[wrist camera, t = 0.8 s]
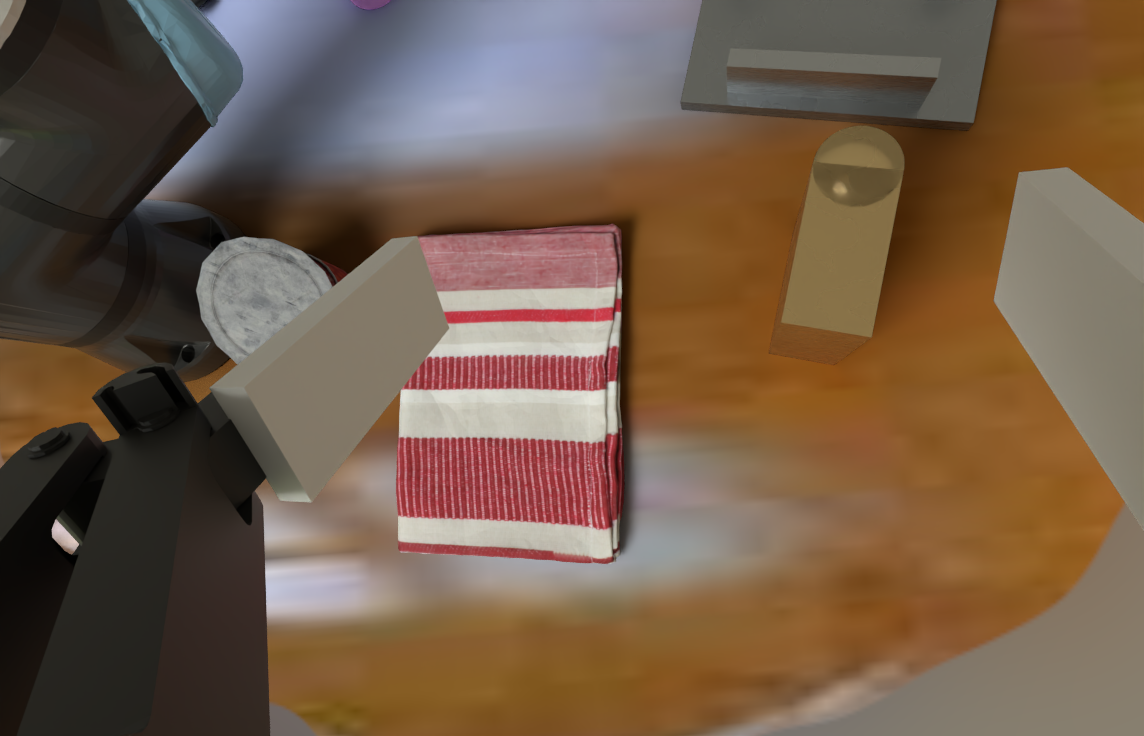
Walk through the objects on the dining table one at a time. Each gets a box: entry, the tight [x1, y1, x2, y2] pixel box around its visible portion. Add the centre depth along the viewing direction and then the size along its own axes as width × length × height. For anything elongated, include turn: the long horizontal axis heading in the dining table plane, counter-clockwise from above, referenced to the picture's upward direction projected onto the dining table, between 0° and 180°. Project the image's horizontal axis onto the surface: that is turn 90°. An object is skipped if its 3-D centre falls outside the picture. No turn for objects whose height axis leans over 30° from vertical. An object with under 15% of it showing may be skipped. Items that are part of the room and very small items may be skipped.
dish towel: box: [396, 224, 625, 564], centre depth 43 cm, size 17×23×3 cm
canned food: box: [196, 237, 348, 364], centre depth 46 cm, size 11×10×10 cm
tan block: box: [769, 126, 904, 365], centre depth 34 cm, size 4×10×11 cm, turn 167°
